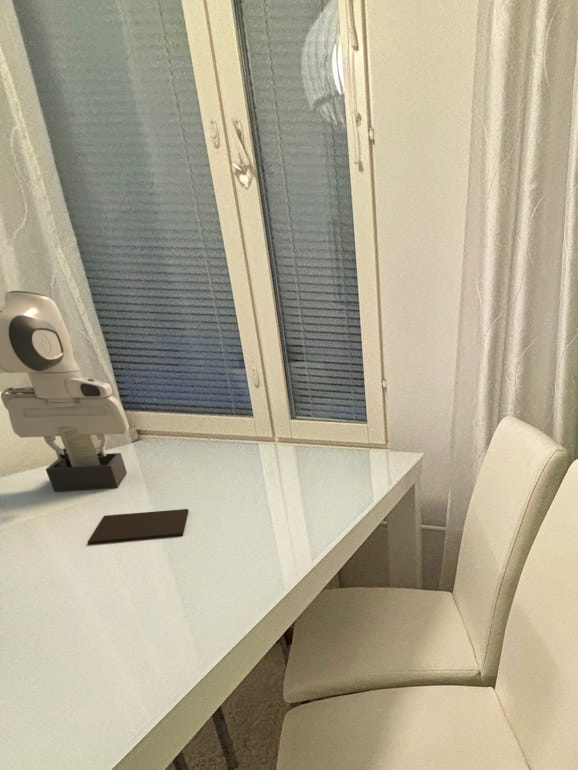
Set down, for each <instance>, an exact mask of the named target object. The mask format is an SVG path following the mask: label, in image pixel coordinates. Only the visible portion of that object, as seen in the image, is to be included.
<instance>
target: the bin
mask: <svg viewBox="0 0 578 770" xmlns="http://www.w3.org/2000/svg"><path fill="white" fill-rule="evenodd" d="M98 459H99V462H100V465H101V466H83V467H72V465H71V463H70V460H69V457H68V458H63V459H58V458H57V459H55V461H54V462H53V463H51V464H50V465H49V466H48V467H47V468H45V471H46V474H47V476H48V477H47V478H48V480H49V482H50V484H51V488H52V491H53V492H54V493H55V492H56V493H58V492H72V491H85V490H100V489H115V488H116V489H118V488H119V486H121V483H122V482H123V480H124V479H125V477H126V475H127V474H128V471H127V469H126V465H125V462H124V458H123V455H122V453H121V452H112V453H106V456H105V457H98Z"/></svg>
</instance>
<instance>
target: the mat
mask: <svg viewBox="0 0 578 770" xmlns="http://www.w3.org/2000/svg"><path fill="white" fill-rule="evenodd" d="M189 512H190V511H189V508H181V509H170V510H157V511H156V510H155V511H146V512H145V511H144V512H131V513H121V514H120V513H119V514H107V515H103V516H102V518H101V520H100V521H99V522H98V525H97V526H96V527H95V529H94V531H93V533H92V534H91V536H90V537H89V539H88V540H87V544H88V545H89V546H90V545H100V544H110V543H119V542H130V541H140V540H151V539H162V538H172V537H173V538H174V537H182V536H184V533H185V529H186V524H187V520H188V516H189Z"/></svg>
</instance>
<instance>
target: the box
mask: <svg viewBox="0 0 578 770" xmlns="http://www.w3.org/2000/svg"><path fill="white" fill-rule="evenodd" d="M59 432H60V434H61V436H60V439H61V442H62V444H63V447H64V448H65V449H66V453H67V455H68V457H69V460H70V463H71V465H72V467H83V466H101V465H100V462H99V459H98V456H97V453H96V450H95V448H96V447H95V444H94V442H93V439H92V437H91V436H92V435H81V434H80V433H79V432H78V430H77V428H76V427H63V428H59Z"/></svg>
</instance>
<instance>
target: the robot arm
mask: <svg viewBox="0 0 578 770" xmlns="http://www.w3.org/2000/svg"><path fill="white" fill-rule="evenodd" d="M71 339H72V338H71V337H70V334H69V331H68V328H67V326H66V323H65V321H64V318H63V315H62V314H61V312H60V310H59V308H58V306H57V304H56V302H55V301H54V300H53V299H52V298H50V297H48V296H47V295H45V294H41V293H38V292H32V291H31V292H30V291H23V290H10V291H7V292H5V293H4V305H3V306H2V307H1V308H0V374H1V373H3V374H16V373H18V374H19V373H20V374H21V373H26V374H27V375H28V378H29V381H30V384H31V386H25V387H24V386H23V387H12V386H11V387H7V388H6V389H5V390H3V391H2V392H1V394H0V399H1V402H2V404H3V406H4V407H5V409H6V410H7V411H8V417H9V421H10V425H11V428H12V430H13V433H14V434H15V435H16V436H18V438H19V437H20V438H44V442H45V444H46V445H48V446H49V447H50V448H51V449H52V450H53V451H55V454H56V457H57V459H63V458H68V455H67V452H66V449H65V447H64V448H61V447H60V446H59V445H58V444H57V443H56V442H55V441H56V440H57V439H56V437H61V434H60V432H59V428H63V427H76V428H77V430H78V432H79V433H80V434H81V435H90V436H96V438H97V440H98V441H100V443H99V446H96V447H94V448H95V450H96V453H97V456H98V457H105V456H106V454H107V451H106V449H105V447H106V444H107V440H108V436H107V435H124V434H126V433H127V432H128V431H129V429H130V424H129V421H128V418H127V415H126V413H125V410H124V408H123V405H122V403H121V402H120V401H119V399H118V398H117V397H115V396H114V395H112V394H113V387H112V386H111V384H110V383H108V382H106V381H101V380H98V379H94V378H90V377H86V376H83V374H82V371H81V368H80V366H79V365H78V363H77V362H76V359H75V357H74V346H73V343H72V340H71Z"/></svg>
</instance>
